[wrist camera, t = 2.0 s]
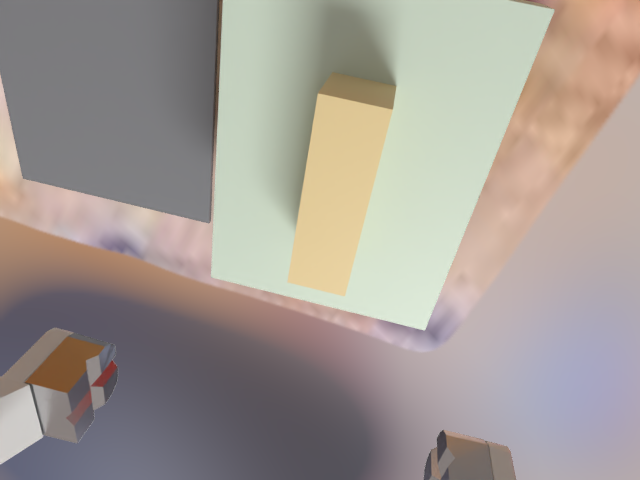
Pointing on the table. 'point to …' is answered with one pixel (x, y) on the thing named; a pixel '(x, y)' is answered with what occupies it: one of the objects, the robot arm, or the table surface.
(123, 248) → the table surface
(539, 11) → the lid
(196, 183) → the mat
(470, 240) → the table surface
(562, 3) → the table surface
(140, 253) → the table surface
